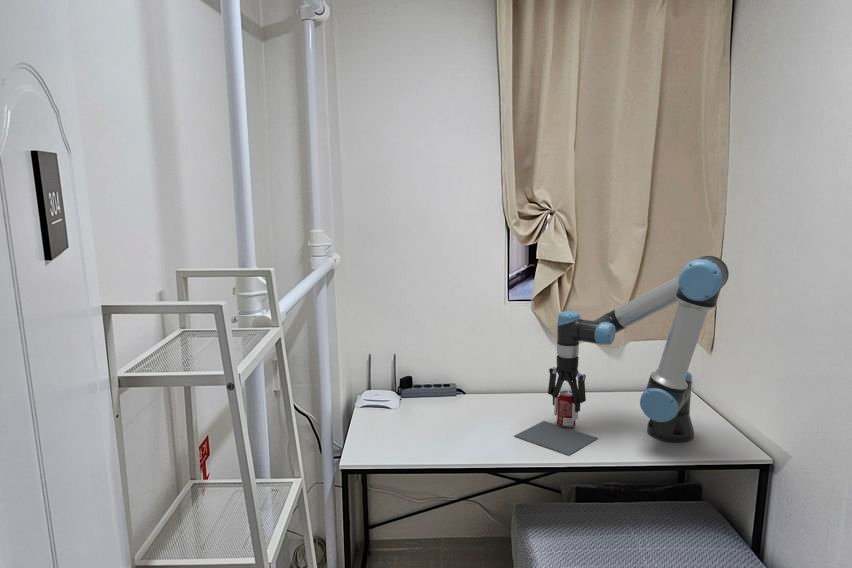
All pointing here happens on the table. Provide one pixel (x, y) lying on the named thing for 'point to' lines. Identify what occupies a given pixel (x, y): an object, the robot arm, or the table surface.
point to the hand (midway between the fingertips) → (565, 416)
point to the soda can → (565, 409)
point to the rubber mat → (556, 438)
